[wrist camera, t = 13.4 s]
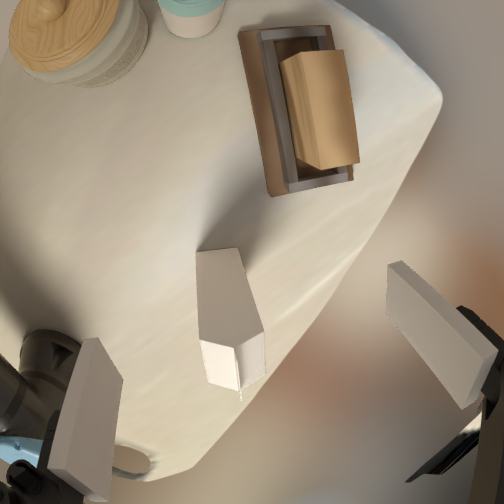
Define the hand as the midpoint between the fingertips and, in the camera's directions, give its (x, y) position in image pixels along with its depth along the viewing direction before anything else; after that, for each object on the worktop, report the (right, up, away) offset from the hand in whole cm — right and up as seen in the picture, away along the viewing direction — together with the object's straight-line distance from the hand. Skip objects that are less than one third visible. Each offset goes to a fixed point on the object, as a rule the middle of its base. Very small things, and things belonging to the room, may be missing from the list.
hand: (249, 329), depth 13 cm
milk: (-5, +1, +33) cm, 34 cm away
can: (-7, +33, +18) cm, 38 cm away
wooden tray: (+6, +22, +25) cm, 34 cm away
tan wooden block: (+6, +21, +24) cm, 33 cm away
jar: (-19, +30, +17) cm, 39 cm away
